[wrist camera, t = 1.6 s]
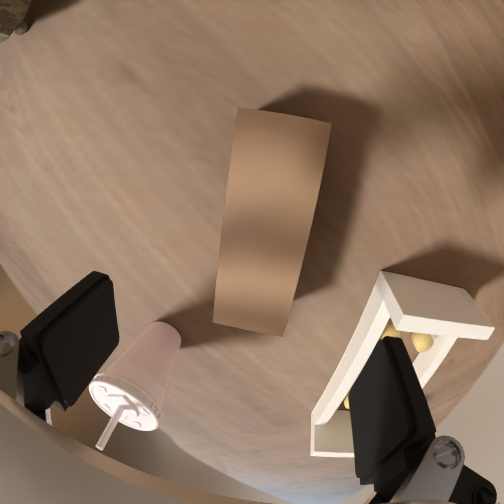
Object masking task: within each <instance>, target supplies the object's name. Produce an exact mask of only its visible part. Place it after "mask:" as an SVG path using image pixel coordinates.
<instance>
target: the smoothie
mask: <svg viewBox="0 0 504 504" xmlns="http://www.w3.org/2000/svg"><path fill="white" fill-rule="evenodd" d="M180 345H181V337H180V335H179V333H178V332H177V330H176V329H175V328H174V327H172V326H171V325H169V324H167V323H164V322H160V321H156V322H153V323H151V324H150V325H149V326H148V327H147V328H146V329H145V330H144V331H143V332H142V333H141V334H140V335H139V336H138V337H137V338H136V339H135V340H134V341H133V342H132V343H131V344H130V345H129V347H128V348H127V349H126V350H125V351H124V352H123V353H122V354H121V355H120V356H119V357H118V358H117V359H116V360H115V361H114V362H113V363H112V364H111V365H110V366H109V367H108V368H107V369H106V371H105V372H104V373H101V374H97V375H96V376H95V377H94V379H93V381H92V382H91V384H90V385H89V390H90V394H91V396H92V398H93V399H94V401H95V402H96V403H97V404H98V406H99V407H100V408H101V409H102V410H103V411H105V412H106V413H107V414H108V415H109V416H111V417H112V418H111V420H110V421H109V423H108V425H107V427H106V428H105V430H104V432H103V434H102V436H101V437H100V439H99V441H98V443H97V445H96V447H97V448H99V449H100V450H103V448H104V446H105V445H106V443H107V441H108V439H109V437H110V435H111V433H112V432H113V430H114V428H115V426H116V424H117V422H118V421H119V422H120V423H122V424H124V425H127V426H129V427H132V428H135V429H138V430H144V431H150V430H155V429H156V428H157V427H158V426H159V423H160V421H161V420H162V419H163V413H162V410H161V408H162V405H163V402H164V398H165V394H166V391H167V388H168V384H169V381H170V377H171V374H172V371H173V368H174V364H175V361H176V358H177V355H178V351H179V348H180Z"/></svg>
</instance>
